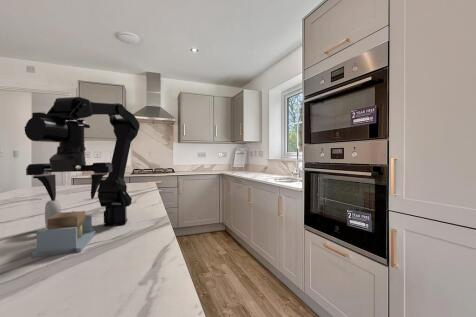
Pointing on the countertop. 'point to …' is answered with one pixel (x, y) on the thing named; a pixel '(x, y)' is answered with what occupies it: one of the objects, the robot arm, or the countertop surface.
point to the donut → (51, 210)
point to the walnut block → (66, 220)
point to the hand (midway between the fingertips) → (73, 199)
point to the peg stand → (64, 239)
